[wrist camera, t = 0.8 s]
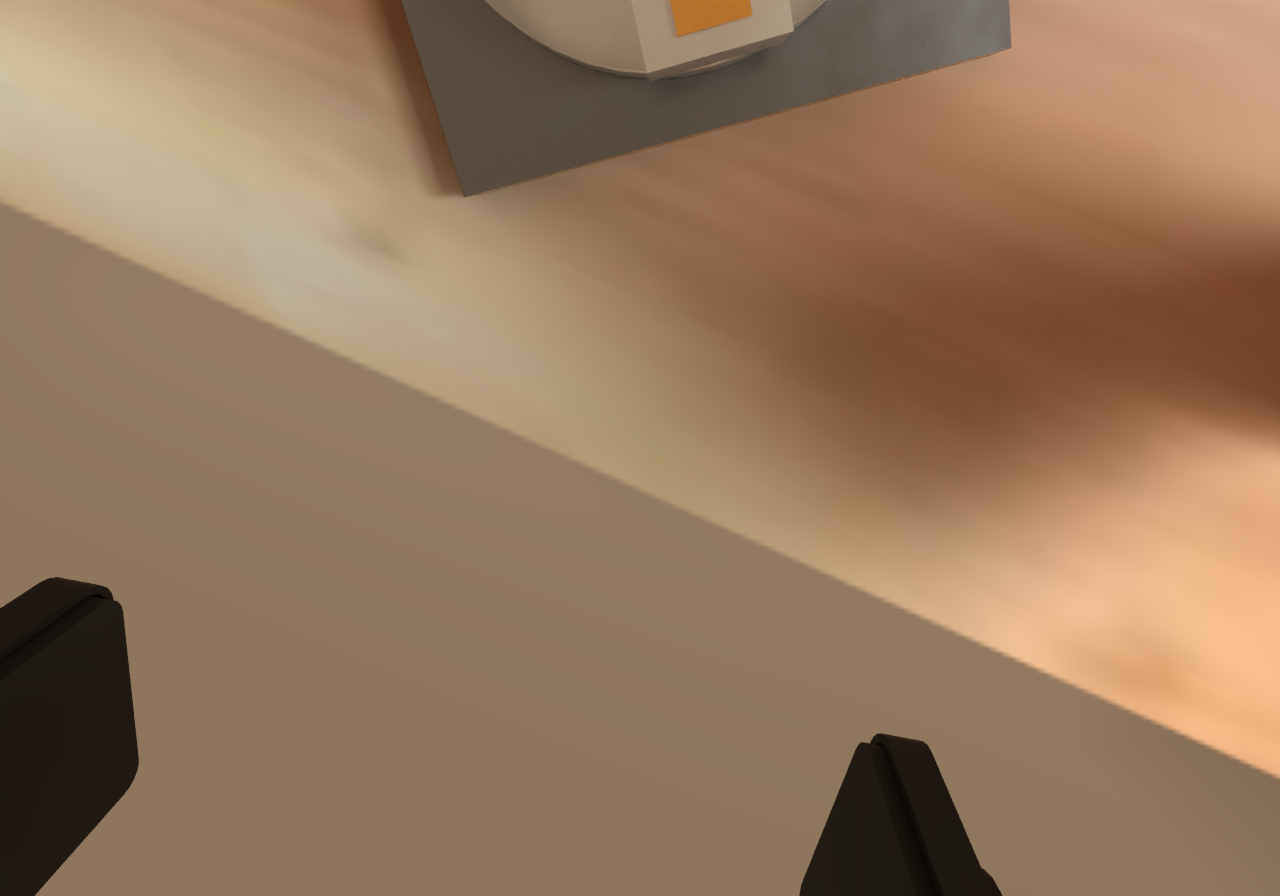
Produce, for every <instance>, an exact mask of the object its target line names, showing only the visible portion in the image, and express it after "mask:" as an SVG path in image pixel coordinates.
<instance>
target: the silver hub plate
mask: <svg viewBox="0 0 1280 896" xmlns="http://www.w3.org/2000/svg"><path fill="white" fill-rule="evenodd" d="M485 1H486V2H487V3H488V4H489V5H490V6H491V7H492V8H493V9H494V10H495V11H496V12H498V13H499V14H500V15H501V16H502V17H504V18H505V19H506V20H507V21H508V22H509V23H511V24H512V25H513V26H515V27H516V28H517V29H519V30H520V31H521V32H523V33H524V34H525V35H527V36H528V37H529V38H531V39H532V40H533V41H534V42H536V43H538V44H539V45H541V46H543V47H545V48H546V49H548V50H550V51H552V52H553V53H555V54H557V55H559V56H560V57H562V58H564V59H567V60H569V61H572V62H574V63H577V64H579V65H582V66H585V67H587V68H590V69H592V70H596V71H600V72H605V73H609V74H613V75H617V76H622V77H633V78H644V79H649V81H653V80H657V79H663V78H680V77H686V76H691V75H696V74H701V73H706V72H710V71H714V70H717V69H720V68H722V67H725V66H728V65H731V64H733V63H736V62H739V61H742V60H744V59H746V58H748V57H750V56H751V55H753V54H755V53H757V52H759V51H761V50H763V49H765V48H768V47H772V46H775V45H779V44H782V43H784V42H785V41H786V40H787V39H788V37H789V36H790V35H791V34H792V33H793V31H794V29H795V28H796V27H798V26H799V25H800V24H801V23H802V22H804V21H805V20H806V19H807V18H808V17H809V16H810V15H811V14H812V13H813V12H814V11H816V10H817V9H818V8H819V7H820V6H821V5H822V4H823V3H824V2H825V1H826V0H485Z"/></svg>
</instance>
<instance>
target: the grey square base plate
mask: <svg viewBox="0 0 1280 896" xmlns="http://www.w3.org/2000/svg"><path fill="white" fill-rule="evenodd" d="M401 2H402V5H403V8H404V11H405V14H406V17H407V20H408V23H409V27H410V30H411V33H412V36H413V39H414V42H415V45H416V48H417V52H418V55H419V58H420V61H421V64H422V67H423V70H424V73H425V76H426V80H427V83H428V86H429V89H430V92H431V95H432V98H433V101H434V105H435V108H436V111H437V114H438V117H439V120H440V123H441V126H442V130H443V133H444V136H445V139H446V142H447V145H448V148H449V151H450V155H451V158H452V161H453V164H454V167H455V170H456V173H457V176H458V179H459V183H460V186H461V189H462V192H463V195H464V197H470V196H476V195H480V194H484V193H488V192H491V191H495V190H499V189H502V188H506V187H510V186H513V185H517V184H521V183H524V182H528V181H532V180H535V179H539V178H543V177H546V176H550V175H554V174H557V173H561V172H565V171H568V170H572V169H576V168H579V167H583V166H587V165H590V164H594V163H598V162H601V161H605V160H609V159H612V158H616V157H619V156H623V155H627V154H630V153H634V152H638V151H641V150H645V149H649V148H652V147H656V146H660V145H663V144H667V143H671V142H674V141H678V140H682V139H685V138H689V137H693V136H696V135H700V134H704V133H707V132H711V131H715V130H718V129H722V128H726V127H729V126H733V125H737V124H740V123H744V122H748V121H751V120H755V119H759V118H762V117H766V116H770V115H773V114H777V113H781V112H784V111H788V110H792V109H795V108H799V107H803V106H806V105H810V104H814V103H817V102H821V101H825V100H828V99H832V98H836V97H839V96H843V95H846V94H850V93H854V92H857V91H861V90H865V89H868V88H872V87H876V86H879V85H883V84H887V83H890V82H894V81H898V80H901V79H905V78H909V77H912V76H916V75H920V74H923V73H927V72H931V71H934V70H938V69H942V68H945V67H949V66H953V65H956V64H960V63H964V62H967V61H971V60H975V59H978V58H982V57H986V56H989V55H992V54H995V53H998V52H1001V51H1003V50H1006V49H1009V48H1011V33H1010V15H1009V0H826V1H825V2H824V3H823V4H822V5H821V6H820V7H819V8H818V9H817V10H816V11H814V12H813V13H812V14H811V15H810V16H809V17H808V18H807V19H806V20H805V21H804V22H802V23H801V24H800V25H799V26H798V27H796V28H795V29H794V31H793V33H792V34H791V35H790V36H789V37H788V39H787V40H786V41H785V42H784V43H782V44H779V45H775V46H772V47H768V48H765V49H763V50H761V51H759V52H757V53H755V54H753V55H751V56H750V57H748V58H746V59H744V60H742V61H739V62H736V63H733V64H731V65H728V66H725V67H722V68H720V69H717V70H714V71H710V72H706V73H701V74H696V75H691V76H686V77H680V78H663V79H657V80H653V81H649V79H644V78H633V77H622V76H617V75H613V74H609V73H605V72H600V71H596V70H592V69H590V68H587V67H585V66H582V65H579V64H577V63H574V62H572V61H569V60H567V59H564V58H562V57H560V56H559V55H557V54H555V53H553V52H552V51H550V50H548V49H546V48H545V47H543V46H541V45H539V44H538V43H536V42H534V41H533V40H532V39H531V38H529V37H528V36H527V35H525V34H524V33H523V32H521V31H520V30H519V29H517V28H516V27H515V26H513V25H512V24H511V23H509V22H508V21H507V20H506V19H505V18H504V17H502V16H501V15H500V14H499V13H498V12H496V11H495V10H494V9H493V8H492V7H491V6H490V5H489V4H488V3H487V2H486V1H485V0H401Z"/></svg>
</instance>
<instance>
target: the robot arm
mask: <svg viewBox="0 0 1280 896" xmlns="http://www.w3.org/2000/svg"><path fill="white" fill-rule="evenodd" d="M138 762H139V758H138V748H137V738H136V729H135V720H134V710H133V701H132V692H131V682H130V673H129V663H128V655H127V645H126V635H125V627H124V617H123V610H122V606H121V605H120V604H119V602H117V601H114V600H113V596H112V593H111V592H110V590H109V589H108V588H107V587H104V586H100V585H96V584H91V583H85V582H80V581H74V580H69V579H64V578H59V577H55V578H49V579H46V580H44V581H42V582H40V583H38V584H37V585H36V586H34V587H32V588H31V589H29V590H28V591H26V592H25V593H23V594H22V595H20V596H19V597H17V598H16V599H14V600H13V601H11V602H9V603H8V604H6V605H5V606H3V607H2V608H0V896H35V895H36V893H37V892H38V891H39V890H40V889H41V888H42V887H43V886H44V884H45V883H46V882H47V881H48V880H49V879H50V877H51V876H52V875H53V874H54V873H55V872H56V871H57V869H59V867H60V866H61V865H62V864H63V863H64V862H65V861H66V860H67V858H68V857H69V856H70V855H71V854H72V853H73V851H74V850H75V849H76V848H77V847H78V846H79V845H80V844H81V843H82V841H83V840H84V839H85V838H86V837H87V836H88V834H89V833H90V832H91V831H92V830H93V829H94V828H95V827H96V826H97V824H98V823H99V822H100V821H101V820H102V819H103V818H104V816H105V815H106V814H107V813H108V812H109V811H110V809H112V807H113V806H114V805H115V804H116V803H117V802H118V801H119V799H120V798H121V797H122V796H123V795H124V794H125V792H126V791H127V790H128V789H129V787H130V785H131V784H132V781H133V780H134V777H135V775H136V773H137V769H138V764H139V763H138ZM800 896H1002V894H1001V892H1000V890H999V889H998V887H997V885H996V883H995V881H994V880H993V878H992V877H991V876H990V875H989V874H988V873H987V872H986V871H985V870H984V869H982V868H981V866H980V864H979V862H978V859H977V858H976V855H975V852H974V850H973V848H972V845H971V843H970V841H969V838H968V836H967V834H966V831H965V829H964V827H963V824H962V822H961V820H960V818H959V815H958V813H957V810H956V808H955V806H954V803H953V801H952V799H951V797H950V794H949V792H948V789H947V787H946V785H945V783H944V780H943V778H942V776H941V773H940V771H939V768H938V766H937V764H936V761H935V759H934V757H933V754H932V752H931V750H930V749H929V747H928V745H927V744H925V743H924V742H923V741H918V740H913V739H908V738H902V737H897V736H892V735H886V734H876V735H875V736H874V737H873V739H872V740H871V742H870V743H864V742H862V743H860V744H859V745H858V747H857V748H856V750H855V753H854V755H853V758H852V760H851V763H850V765H849V768H848V770H847V773H846V775H845V778H844V780H843V783H842V785H841V788H840V790H839V793H838V795H837V797H836V800H835V803H834V805H833V807H832V810H831V812H830V815H829V817H828V820H827V822H826V825H825V827H824V830H823V832H822V835H821V837H820V839H819V842H818V844H817V847H816V849H815V852H814V855H813V857H812V859H811V862H810V864H809V867H808V869H807V872H806V875H805V877H804V879H803V882H802V885H801V889H800Z"/></svg>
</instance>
